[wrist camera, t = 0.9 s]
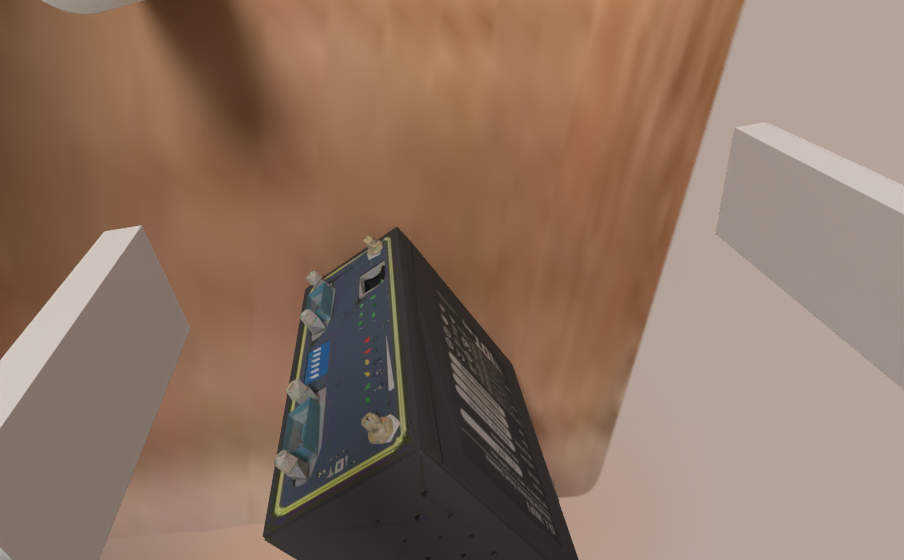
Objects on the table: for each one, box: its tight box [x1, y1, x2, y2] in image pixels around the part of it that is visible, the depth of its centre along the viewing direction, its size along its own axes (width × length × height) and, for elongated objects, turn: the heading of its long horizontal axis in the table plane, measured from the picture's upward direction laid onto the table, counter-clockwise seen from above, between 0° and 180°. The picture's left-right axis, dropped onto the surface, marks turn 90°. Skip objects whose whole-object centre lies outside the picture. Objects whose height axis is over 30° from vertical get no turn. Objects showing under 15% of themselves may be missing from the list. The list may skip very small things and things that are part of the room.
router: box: [263, 227, 578, 560], centre depth 33 cm, size 8×18×20 cm, turn 34°
